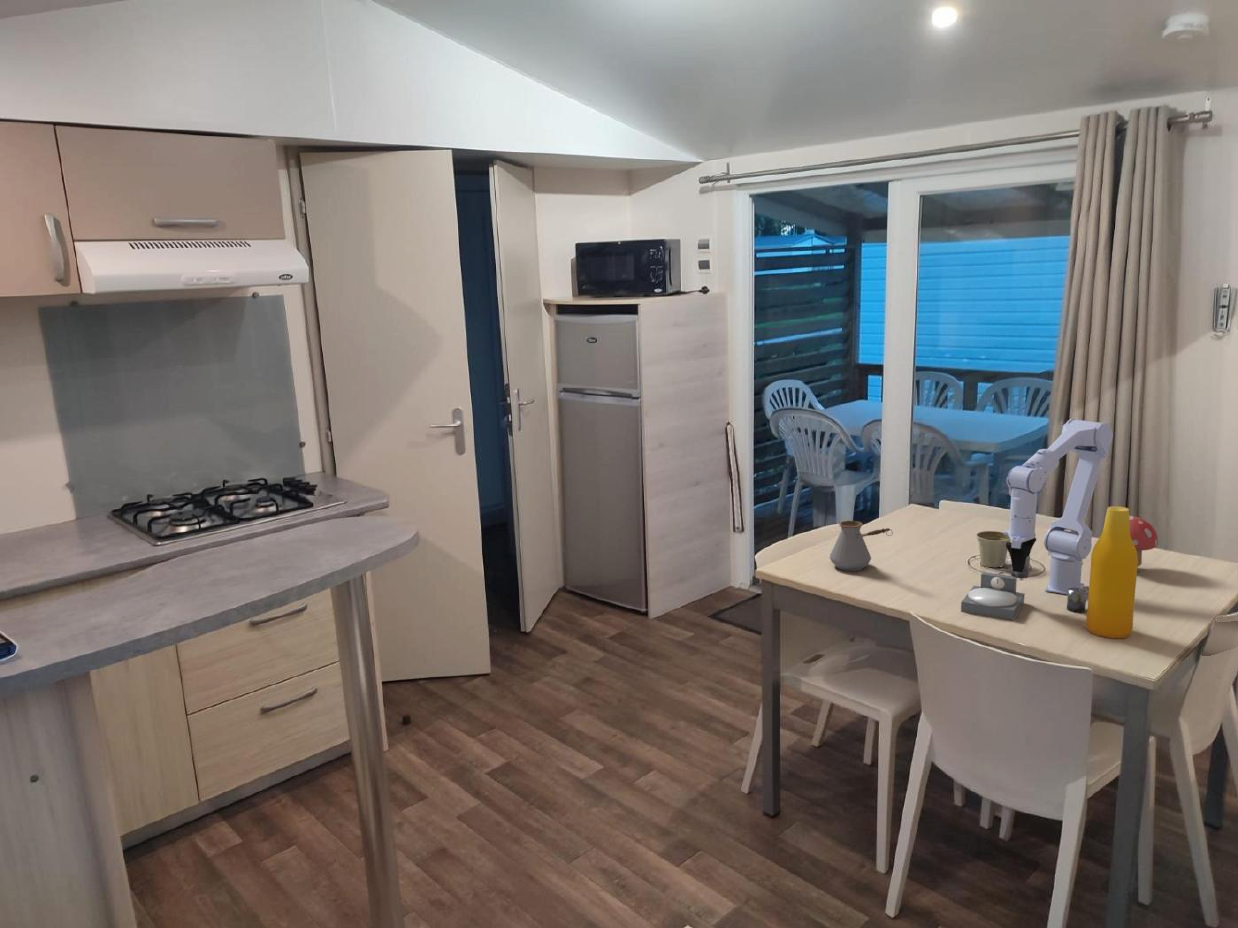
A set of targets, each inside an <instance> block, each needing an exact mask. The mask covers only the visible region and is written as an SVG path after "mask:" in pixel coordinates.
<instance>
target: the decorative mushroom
mask: <svg viewBox="0 0 1238 928" xmlns="http://www.w3.org/2000/svg"><path fill="white" fill-rule="evenodd" d="M1129 518H1130V536H1131V539H1132V541H1133V543H1134V546H1135V548H1136V551H1137V556H1138V566H1137V568H1138V567H1140V566H1141V565H1142V563H1143V562H1142V561H1143V557H1142V556H1143V552H1142V551H1149V550H1153V549H1155V548H1156V547H1158V545H1159V541H1158V540H1159V539H1158V534H1157V531H1156V530H1155V528H1154V527H1153V525H1152V524H1150V523H1149V522H1148V521H1147V520H1145V519H1143V518H1141V517H1137V516H1132V515H1129Z"/></svg>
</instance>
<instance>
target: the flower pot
mask: <svg viewBox="0 0 1238 928" xmlns="http://www.w3.org/2000/svg"><path fill="white" fill-rule="evenodd" d="M975 537H976V538H977V539H976V540H977V542H978V549H979V557H980V565H982V566H984V567H985V566H986V567H985V568H991V567H992V568H994V569H996V568H995V567H1000V566H1004V567H1005V565H1006V559H1007V554H1008V550H1007V548H1006V543H1007V542H1012V540H1011V539H1010V537H1009V536H1008V535H1005V534H1004V531H997V530H984V531H982V530H981V531H979V532H977V533H975Z"/></svg>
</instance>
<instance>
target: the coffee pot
mask: <svg viewBox="0 0 1238 928" xmlns="http://www.w3.org/2000/svg"><path fill="white" fill-rule="evenodd" d="M838 525H839V527H840V529H841V530H840V533H839V535H838V537H837V539H836V541H835V544H834V545H833V548H832V549H831V551H830V553H829V560H830V561H831V563H832V564H833V565H834V566H835V567H836V568H837V569H839V570H842V571H845V572H846V571H847V572H848V571H849V572H854V571H855V572H856V571H861V570H864V568H865V567H867V566H868V565H869V563H870V562H871V560H872V556H871V553H870V551H869V548H868V546H867V544H866V542H865V539H864V537H870V536H874V535H875V536H877V535H879V534H882V533H883V534H886V536H888V537H890V536H893V534H894V533H893V530H892V529H890V527H889V528H887V527H886V528H881V529H876V530H872V531H868V532H864V533H861V528H862V526H863V522H861V521H858V520H857V521H856V520H843V521H840V522H839V523H838ZM889 531H891V534H890V535H889V534H887V532H889Z"/></svg>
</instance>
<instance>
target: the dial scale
mask: <svg viewBox="0 0 1238 928" xmlns="http://www.w3.org/2000/svg"><path fill="white" fill-rule="evenodd" d="M1017 579H1018V578H1015V577H1013V576H1011V575H1005V574H1001V573H994V572H985V571H982V573H981V574H980V586H979V585H973V586H972V587H971V589H970V590H969V591H968V592H967V594H966V595H965V596H964V597H963V599H962V600H961V606H960V612H961V613H962V612H964V613H970V614H975V615H979V616H986V617H993V618H999V619H1005V620H1010V621H1014V620H1015V618H1016V617H1017V615H1018V613H1019V612H1020V610H1021V608H1022V607H1023V605H1024V604H1025V593H1024V592H1017V582H1018V581H1017Z"/></svg>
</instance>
